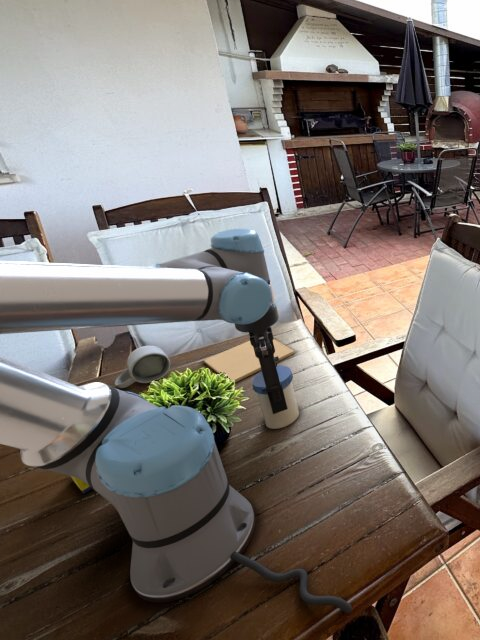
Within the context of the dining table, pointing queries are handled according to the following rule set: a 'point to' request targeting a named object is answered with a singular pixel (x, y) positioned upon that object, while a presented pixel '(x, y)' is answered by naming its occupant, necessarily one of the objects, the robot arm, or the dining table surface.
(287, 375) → the lid
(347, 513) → the dining table surface
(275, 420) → the jar
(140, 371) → the ceramic mug
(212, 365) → the mat
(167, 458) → the robot arm
